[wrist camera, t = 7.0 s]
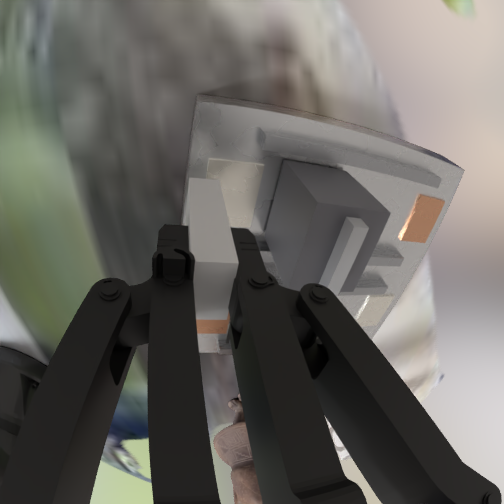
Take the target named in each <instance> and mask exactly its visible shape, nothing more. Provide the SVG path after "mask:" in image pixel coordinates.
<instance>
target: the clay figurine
mask: <svg viewBox="0 0 504 504" xmlns="http://www.w3.org/2000/svg"><path fill="white" fill-rule="evenodd" d="M238 398H239V400H236V399H235V400H231V401H230V402H229V403H228V405H229V407H230V408H231V409H232V410H234V411H235V412H236V414H235V419H234V422H233V425H231V426H228V427H226V428H225V429H223V430H221V431H220V432H219V433H218V434H217V435H216V436H215V437H214V441H213V442H214V447H215V449H216V451H217V454H218V455H219V457H220V458H221V459H222V460H223V461H224V462H225V463H227V464H228V465H229V466H231V468H232V472H231V479H232V483H233V489H234V490H233V491H234V502H235V504H262V498H261V493H260V489H259V484H258V480H257V475H256V471H255V466H254V462H253V457H252V452H251V447H250V443H249V438H248V433H247V428H246V423H245V418H244V413H243V408H242V402H241V397H240V393H239V394H238Z"/></svg>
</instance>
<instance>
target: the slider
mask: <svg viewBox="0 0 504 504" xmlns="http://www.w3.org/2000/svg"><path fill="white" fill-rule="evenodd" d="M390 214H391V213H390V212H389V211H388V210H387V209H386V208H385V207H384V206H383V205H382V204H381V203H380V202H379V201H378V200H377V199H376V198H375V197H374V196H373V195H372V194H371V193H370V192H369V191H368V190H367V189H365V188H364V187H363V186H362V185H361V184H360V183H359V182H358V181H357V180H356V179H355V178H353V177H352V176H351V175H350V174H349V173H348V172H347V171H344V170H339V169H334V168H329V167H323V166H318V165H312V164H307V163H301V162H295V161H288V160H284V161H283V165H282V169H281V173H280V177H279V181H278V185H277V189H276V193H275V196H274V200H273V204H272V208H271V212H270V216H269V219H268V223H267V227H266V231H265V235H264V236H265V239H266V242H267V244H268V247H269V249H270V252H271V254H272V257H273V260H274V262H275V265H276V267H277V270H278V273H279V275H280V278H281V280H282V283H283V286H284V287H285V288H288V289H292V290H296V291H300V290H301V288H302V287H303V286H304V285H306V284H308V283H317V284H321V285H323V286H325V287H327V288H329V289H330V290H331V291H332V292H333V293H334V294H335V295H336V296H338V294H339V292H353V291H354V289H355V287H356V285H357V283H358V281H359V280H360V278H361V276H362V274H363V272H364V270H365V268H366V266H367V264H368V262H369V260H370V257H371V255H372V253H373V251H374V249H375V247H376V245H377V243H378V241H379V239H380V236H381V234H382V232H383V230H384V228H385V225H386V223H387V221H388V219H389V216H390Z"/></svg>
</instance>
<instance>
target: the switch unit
mask: <svg viewBox="0 0 504 504" xmlns="http://www.w3.org/2000/svg"><path fill="white" fill-rule="evenodd" d="M284 160H288V161H295V162H301V163H307V164H312V165H318V166H323V167H329V168H334V169H339V170H344V171H347V172H348V173H349V174H350V175H351V176H352V177H353V178H355V179H356V180H357V181H358V182H359V183H360V184H361V185H362V186H363V187H364V188H365V189H367V190H368V191H369V192H370V193H371V194H372V195H373V196H374V197H375V198H376V199H377V200H378V201H379V202H380V203H381V204H382V205H383V206H384V207H385V208H386V209H387V210H388V211H389V212H390V213H391V214H390V216H389V219H388V221H387V223H386V225H385V228H384V230H383V232H382V234H381V236H380V239H379V241H378V243H377V245H376V247H375V249H374V251H373V253H372V255H371V257H370V260H369V262H368V264H367V266H366V268H365V270H364V272H363V274H362V276H361V278H360V280H359V281H358V283H357V285H356V287H355V289H354V291H353V292H339V294H338V296H336V297H337V298H338V299H339V300H340V302H341V303H342V304H343V305H344V306H345V308H346V309H347V310H348V311H349V313H350V314H351V315H352V316H353V318H354V319H355V320H356V321H357V323H358V324H359V325H360V326H361V328H362V329H363V330H364V331H365V333H366V334H367V335H368V336H369V338H370V339H371V340H372V338H373V337H374V335H375V334H376V332H377V331H378V329H379V328H380V327H381V325H382V324H383V322H384V321H385V319H386V318H387V316H388V315H389V313H390V312H391V310H392V308H393V307H394V305H395V304H396V302H397V301H398V299H399V297H400V296H401V294H402V293H403V291H404V289H405V288H406V286H407V284H408V283H409V281H410V279H411V278H412V276H413V274H414V272H415V271H416V269H417V267H418V265H419V264H420V262H421V260H422V258H423V257H424V255H425V253H426V251H427V249H428V247H429V245H430V243H431V242H432V240H433V238H434V235H435V234H436V232H437V230H438V228H439V226H440V224H441V222H442V220H443V218H444V216H445V214H446V212H447V209H448V207H449V205H450V203H451V201H452V198H453V196H454V194H455V191H456V189H457V187H458V185H459V182H460V180H461V178H462V175H463V173H464V169H462V168H461V167H459V166H458V165H456V164H454V163H453V162H451V161H450V160H448V159H447V158H445V157H443V156H441V155H439V154H437V153H435V152H432V151H430V150H427V149H425V148H422V147H419V146H417V145H414V144H412V143H409V142H406V141H403V140H401V139H398V138H395V137H392V136H389V135H386V134H383V133H380V132H377V131H374V130H371V129H367V128H364V127H361V126H357V125H354V124H350V123H347V122H343V121H340V120H336V119H332V118H328V117H324V116H320V115H316V114H312V113H308V112H303V111H299V110H294V109H290V108H285V107H280V106H275V105H269V104H264V103H258V102H252V101H246V100H239V99H233V98H225V97H217V96H209V95H200V94H197V98H196V104H195V110H194V117H193V123H192V130H191V137H190V145H189V152H188V160H187V169H186V177H185V186H184V196H183V206H182V217H181V225H184V226H185V215H186V205H187V195H188V186H189V178H203V179H215V180H220V185H221V189H222V194H223V198H224V202H225V207H226V211H227V215H228V220H229V224H230V227H232V228H247V229H249V230H250V231H251V232H252V233H253V235H254V236H255V238H256V241H257V245H258V247H259V251H260V253H261V256H262V259H263V262H264V265H265V268H266V271H267V272H268V273H270V274H271V275H273V276H274V277H275V278H276V280H277V282H278V284H279V285H280V286H282V287H284V286H283V283H282V280H281V278H280V275H279V273H278V270H277V267H276V265H275V262H274V260H273V257H272V254H271V252H270V249H269V247H268V244H267V242H266V239H265V236H264V235H265V231H266V227H267V223H268V219H269V216H270V212H271V208H272V204H273V200H274V196H275V193H276V189H277V185H278V181H279V177H280V173H281V169H282V165H283V161H284ZM196 324H197V335H198V346H199V353H218V354H219V355H233V353H232V348H231V342H230V340H229V344H226V338H227V333H228V329H229V324H230V315H229V312H228V317H227V320H198V319H196ZM319 340H320V339H319Z"/></svg>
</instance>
